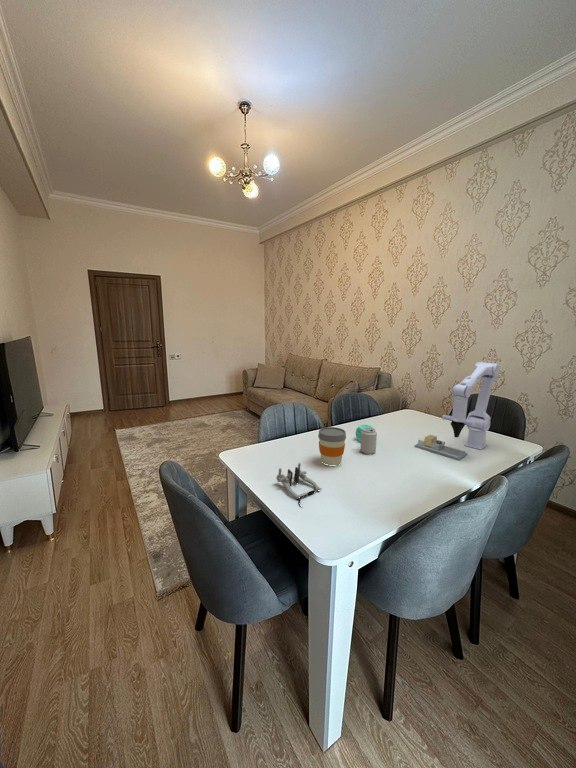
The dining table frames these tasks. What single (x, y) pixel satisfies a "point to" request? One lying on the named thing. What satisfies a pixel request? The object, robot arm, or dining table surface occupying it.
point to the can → (368, 440)
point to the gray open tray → (443, 451)
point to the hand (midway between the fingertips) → (456, 436)
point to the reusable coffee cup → (331, 445)
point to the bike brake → (288, 481)
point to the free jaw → (438, 445)
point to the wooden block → (429, 440)
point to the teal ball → (360, 428)
